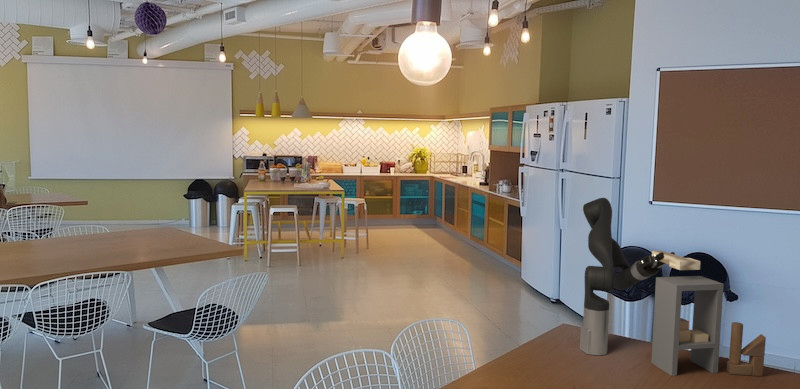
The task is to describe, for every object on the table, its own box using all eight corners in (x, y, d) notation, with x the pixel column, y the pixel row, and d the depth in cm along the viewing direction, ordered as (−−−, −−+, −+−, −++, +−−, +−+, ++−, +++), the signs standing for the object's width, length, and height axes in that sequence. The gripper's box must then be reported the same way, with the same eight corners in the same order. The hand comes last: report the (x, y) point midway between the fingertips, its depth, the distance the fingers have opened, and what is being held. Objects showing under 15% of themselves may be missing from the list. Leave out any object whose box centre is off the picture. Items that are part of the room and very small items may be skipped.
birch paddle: (679, 270, 211) (680, 261, 210) (646, 258, 230) (647, 250, 230) (700, 269, 212) (700, 261, 212) (665, 258, 232) (666, 250, 231)
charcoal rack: (671, 375, 208) (676, 285, 205) (651, 362, 219) (656, 277, 216) (717, 372, 211) (723, 283, 208) (695, 360, 223) (700, 275, 219)
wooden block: (763, 376, 208) (766, 326, 206) (730, 374, 209) (733, 324, 208) (758, 372, 212) (762, 323, 210) (726, 370, 213) (729, 321, 211)
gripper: (626, 259, 239) (648, 245, 224) (658, 259, 242) (683, 244, 226) (630, 278, 236) (653, 264, 221) (663, 277, 239) (688, 263, 223)
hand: (668, 254), depth 224 cm, fingers closed on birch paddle, 4 cm apart
